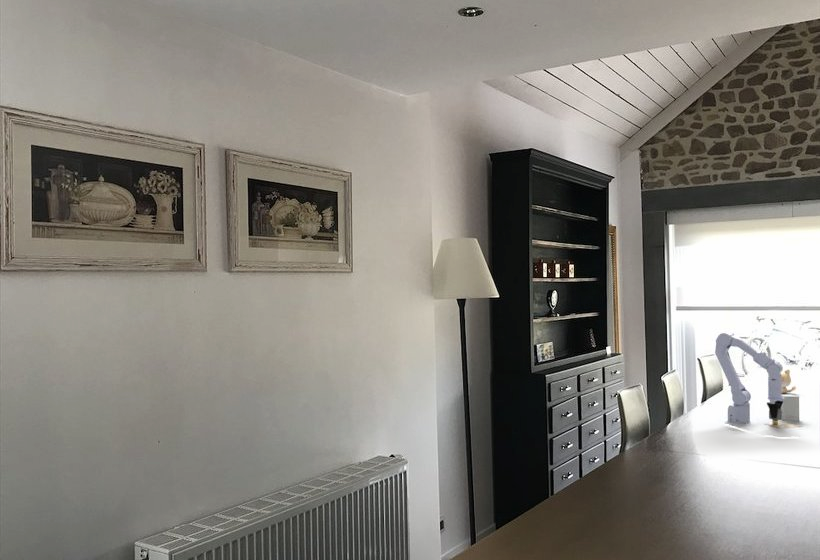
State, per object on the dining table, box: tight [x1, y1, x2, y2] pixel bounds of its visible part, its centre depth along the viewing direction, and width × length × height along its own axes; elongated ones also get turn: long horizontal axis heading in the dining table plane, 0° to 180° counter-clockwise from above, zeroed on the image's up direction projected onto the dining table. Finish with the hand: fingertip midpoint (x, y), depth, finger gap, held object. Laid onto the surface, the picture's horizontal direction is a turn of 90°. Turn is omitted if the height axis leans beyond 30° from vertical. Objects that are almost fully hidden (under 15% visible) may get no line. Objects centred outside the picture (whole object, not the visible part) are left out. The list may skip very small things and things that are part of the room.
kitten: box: [781, 368, 797, 394], centre depth 460 cm, size 15×10×15 cm
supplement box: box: [779, 393, 800, 422], centre depth 370 cm, size 7×7×13 cm
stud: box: [771, 419, 779, 425], centre depth 357 cm, size 2×2×4 cm
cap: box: [768, 409, 783, 421], centre depth 357 cm, size 5×5×4 cm
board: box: [764, 422, 802, 429], centre depth 354 cm, size 13×10×1 cm
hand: (775, 417), depth 357 cm, fingers closed on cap, 5 cm apart
